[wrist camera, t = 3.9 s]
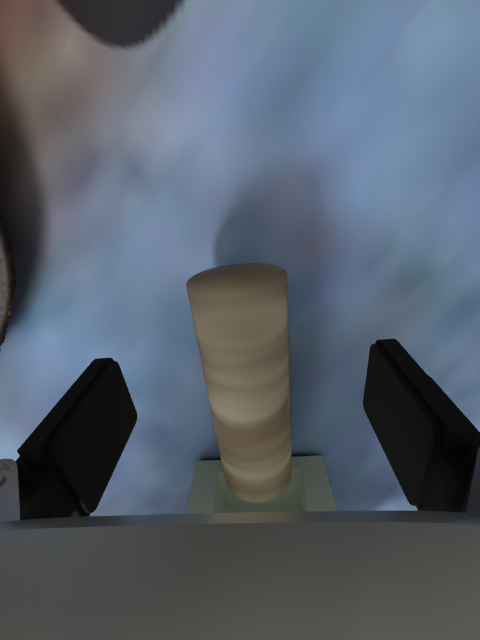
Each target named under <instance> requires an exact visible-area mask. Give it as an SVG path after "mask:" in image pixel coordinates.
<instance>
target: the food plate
mask: <svg viewBox="0 0 480 640" xmlns="http://www.w3.org/2000/svg"><path fill="white" fill-rule="evenodd" d="M4 230H5V227H4V224H3V222H2V218H1V216H0V346H1V343H3V342H4V339H5V335H6V332H7V331H6V329H7V327H8V319H9V318H10V315H11V305H12V300H13V293H14V291H15V286H16V284H17V283H16V279H15V272H14V266H13V263H14V261H13V259H12V257H13V255H12V252H11V250H12V249H11V244H10V242H9V238H8V235H7V234H6V231H4ZM0 351H1V350H0Z"/></svg>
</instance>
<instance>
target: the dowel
mask: <svg viewBox="0 0 480 640" xmlns="http://www.w3.org/2000/svg"><path fill="white" fill-rule="evenodd" d="M187 291H188V296H189V301H190V306H191V311H192V316H193V321H194V326H195V331H196V336H197V341H198V346H199V351H200V356H201V362H202V367H203V372H204V377H205V382H206V387H207V392H208V397H209V402H210V407H211V412H212V417H213V422H214V427H215V432H216V438H217V443H218V448H219V453H220V458H221V463H222V468H223V473H224V478H225V481H226V484H227V486H228V487H229V489H230V490H231V491H232V493H234V494H235V495H236V496H237V497H239V498H240V499H243V500H245V501H248V502H253V503H262V502H267V501H270V500H273V499H275V498H276V497H278V496H279V495H281V494H282V493H283V492H284V491H285V490H286V488H287V487H288V485H289V483H290V480H291V477H292V444H291V410H290V376H289V342H288V307H287V274H286V272H285V270H283V269H282V268H280V267H278V266H274V265H270V264H261V263H251V264H240V265H229V266H220V267H216V268H212V269H209V270H206V271H203V272H200V273H198V274H196V275H194V276H193V277H191V278H190V279H189V280H188V281H187Z"/></svg>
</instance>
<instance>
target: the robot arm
mask: <svg viewBox="0 0 480 640" xmlns="http://www.w3.org/2000/svg"><path fill="white" fill-rule="evenodd" d="M363 406H364V410H365V412H366V415H367V417H368V419H369V421H370V423H371V425H372V427H373V429H374V431H375V433H376V435H377V438H378V440H379V442H380V444H381V446H382V448H383V450H384V452H385V454H386V456H387V458H388V460H389V463H390V465H391V467H392V469H393V471H394V473H395V475H396V477H397V479H398V481H399V483H400V485H401V488H402V490H403V492H404V494H405V496H406V498H407V500H408V502H409V503H410V504H411V505H412V506H415V505H416V507H417V509H418V511H309V512H252V513H204V514H161V515H124V516H89V515H90V513H92V512H94V511H95V510H96V508H97V506H98V504H99V502H100V500H101V497H102V495H103V493H104V491H105V489H106V487H107V484H108V482H109V480H110V478H111V476H112V474H113V471H114V469H115V467H116V465H117V463H118V461H119V458H120V456H121V454H122V452H123V450H124V448H125V445H126V443H127V441H128V439H129V437H130V434H131V432H132V430H133V428H134V426H135V424H136V421H137V412H136V409H135V407H134V404H133V401H132V399H131V396H130V393H129V391H128V388H127V385H126V383H125V380H124V377H123V374H122V372H121V369H120V366H119V364H118V362H116V361H114V360H113V359H112V358H101V359H95V360H93V361H92V362H91V364H90V365H89V366H88V367H87V368H86V370H85V371H84V372H83V373H82V374H81V376H80V377H79V378H78V379H77V380H76V381H75V383H74V384H73V385H72V386H71V387H70V389H69V390H68V391H67V392H66V393H65V395H64V396H63V397H62V398H61V399H60V400H59V402H58V403H57V404H56V405H55V406H54V408H53V409H52V410H51V411H50V412H49V413H48V415H47V416H46V417H45V418H44V419H43V421H42V422H41V423H40V424H39V425H38V427H37V428H36V429H35V430H34V431H33V432H32V434H31V435H30V436H29V437H28V438H27V440H26V441H25V442H24V443H23V444H22V446H21V447H20V448H19V449H18V450H17V452H18V453H19V455H20V457H19V458H18V459H17V460H16V461H14V460H12V459H1V460H0V640H480V432H479V431H478V430H477V429H476V428H475V427H474V425H473V424H472V423H471V422H470V421H469V420H468V419H467V418H466V416H465V415H464V414H463V413H462V412H461V411H460V410H459V408H458V407H457V406H456V405H455V404H454V403H453V402H452V401H451V399H450V398H449V397H448V396H447V395H446V394H445V393H444V391H443V390H442V389H441V388H440V387H439V386H438V385H437V384H436V382H435V381H434V380H433V379H432V378H431V377H430V376H428V375H427V374H426V373H425V372H424V371H423V370H422V368H421V367H420V366H419V365H418V364H417V363H416V362H415V360H414V359H413V358H412V357H411V356H410V355H409V354H408V352H407V351H406V350H405V349H404V348H403V347H402V346H401V344H400V343H399V342H398V341H397V340H396V339H383V340H377V341H376V343H375V344H372V345H371V347H370V353H369V361H368V368H367V376H366V383H365V391H364V398H363Z"/></svg>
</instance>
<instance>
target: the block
mask: <svg viewBox="0 0 480 640" xmlns="http://www.w3.org/2000/svg"><path fill="white" fill-rule="evenodd" d="M309 511H337V507H336V503H335V500H334V496H333V492H332V488H331V485H330V481H329V477H328V474H327V470H326V466H325V462H324V459H323V455H322V456H299V457H292V477H291V480H290V483H289V485H288V487H287V488H286V490H285V491H284V492H283V493H282V494H281V495H279V496H278V497H276V498H275V499H273V500H270V501H267V502H262V503H253V502H248V501H245V500H243V499H240V498H239V497H237V496H236V495H235V494H234V493H232V491H231V490H230V489H229V487H228V486H227V484H226V481H225V478H224V473H223V468H222V463H221V460H207V461H196V463H195V468H194V474H193V479H192V484H191V490H190V495H189V500H188V506H187V511H186V514H204V513H252V512H309Z"/></svg>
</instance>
